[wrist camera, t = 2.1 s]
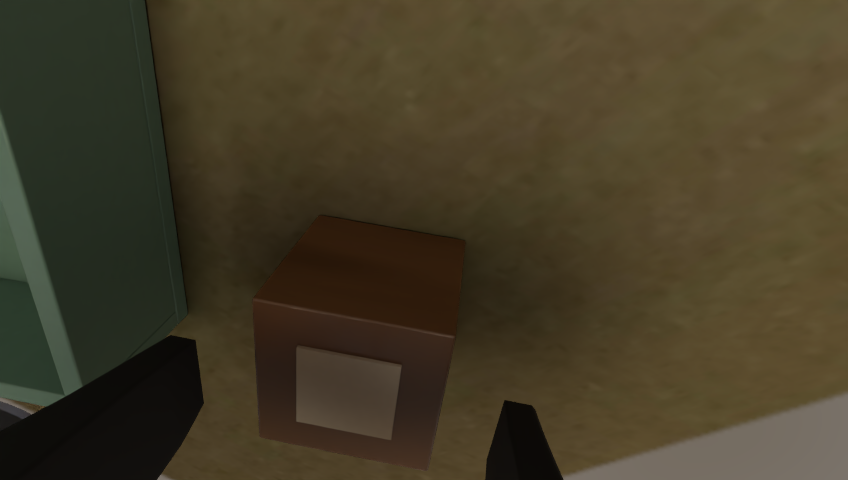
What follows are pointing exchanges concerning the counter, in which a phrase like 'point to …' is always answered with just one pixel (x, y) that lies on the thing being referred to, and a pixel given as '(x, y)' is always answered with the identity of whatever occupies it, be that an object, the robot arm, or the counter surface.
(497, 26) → the counter surface
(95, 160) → the tray
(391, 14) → the counter surface
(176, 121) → the counter surface
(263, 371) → the letter block
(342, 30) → the counter surface
